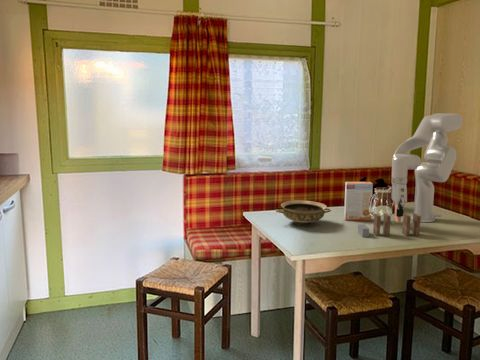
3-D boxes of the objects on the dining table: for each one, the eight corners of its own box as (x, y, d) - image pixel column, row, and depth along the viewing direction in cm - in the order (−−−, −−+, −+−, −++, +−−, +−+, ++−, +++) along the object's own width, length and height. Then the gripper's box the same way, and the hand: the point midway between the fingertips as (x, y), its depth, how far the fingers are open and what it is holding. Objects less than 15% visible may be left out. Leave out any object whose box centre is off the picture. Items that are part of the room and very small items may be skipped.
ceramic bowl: (279, 230, 223) (279, 211, 221) (271, 218, 247) (271, 200, 245) (337, 229, 226) (338, 209, 224) (324, 217, 250) (324, 199, 248)
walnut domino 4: (415, 233, 220) (416, 213, 218) (419, 236, 215) (420, 215, 213) (411, 233, 220) (413, 213, 218) (415, 236, 215) (417, 215, 213)
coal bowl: (396, 212, 262) (398, 180, 258) (365, 213, 258) (366, 181, 254) (379, 204, 281) (381, 175, 278) (349, 205, 277) (351, 176, 274)
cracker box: (369, 218, 247) (371, 181, 243) (371, 221, 241) (373, 183, 237) (343, 217, 248) (345, 180, 245) (345, 220, 242) (346, 182, 239)
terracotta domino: (397, 219, 232) (398, 201, 231) (400, 222, 228) (401, 203, 226) (394, 219, 232) (394, 201, 231) (397, 222, 228) (398, 203, 226)
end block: (364, 232, 221) (364, 224, 220) (368, 236, 213) (369, 228, 212) (357, 232, 221) (358, 224, 220) (362, 236, 213) (362, 228, 212)
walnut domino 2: (386, 233, 220) (387, 213, 218) (389, 236, 215) (390, 215, 213) (382, 233, 220) (384, 213, 218) (386, 236, 215) (387, 215, 213)
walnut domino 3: (405, 233, 220) (406, 213, 218) (409, 236, 215) (410, 215, 213) (402, 233, 220) (403, 213, 218) (406, 236, 215) (407, 215, 213)
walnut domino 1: (376, 233, 219) (377, 213, 218) (379, 236, 215) (380, 215, 213) (373, 233, 219) (374, 213, 218) (376, 236, 215) (377, 215, 213)
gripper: (413, 183, 218) (411, 219, 221) (400, 177, 234) (399, 210, 238) (397, 183, 217) (396, 219, 221) (386, 177, 234) (385, 210, 238)
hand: (397, 214), depth 229 cm, fingers closed on terracotta domino, 4 cm apart
